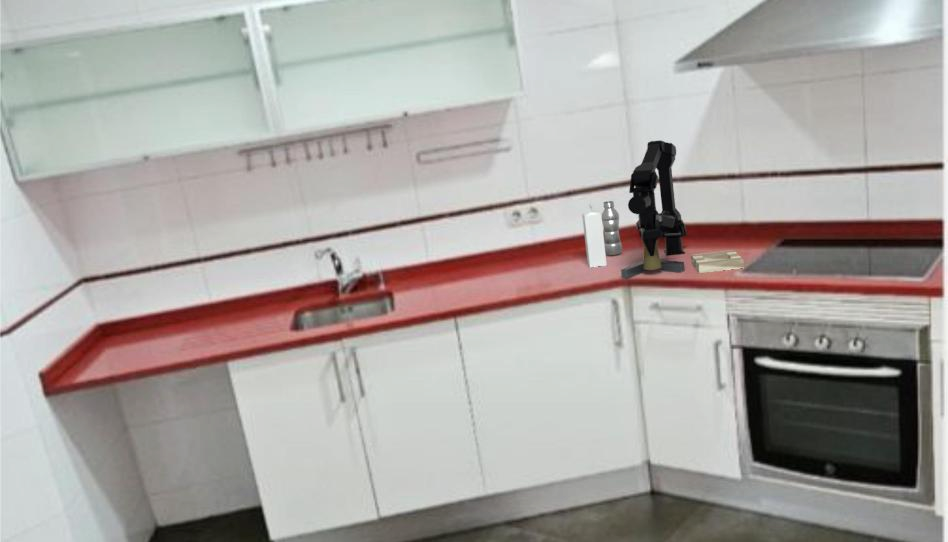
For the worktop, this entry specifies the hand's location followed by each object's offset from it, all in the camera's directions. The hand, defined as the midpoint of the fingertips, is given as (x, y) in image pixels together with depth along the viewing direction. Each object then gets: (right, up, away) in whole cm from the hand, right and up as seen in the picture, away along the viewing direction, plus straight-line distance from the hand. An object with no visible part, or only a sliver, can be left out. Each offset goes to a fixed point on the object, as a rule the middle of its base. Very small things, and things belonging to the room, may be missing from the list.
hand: (651, 254), depth 266 cm
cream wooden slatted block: (+22, -4, 0) cm, 22 cm away
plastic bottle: (-6, 0, +36) cm, 36 cm away
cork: (+1, -5, +1) cm, 5 cm away
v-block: (+1, -6, +5) cm, 7 cm away
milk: (-14, -4, +24) cm, 28 cm away
